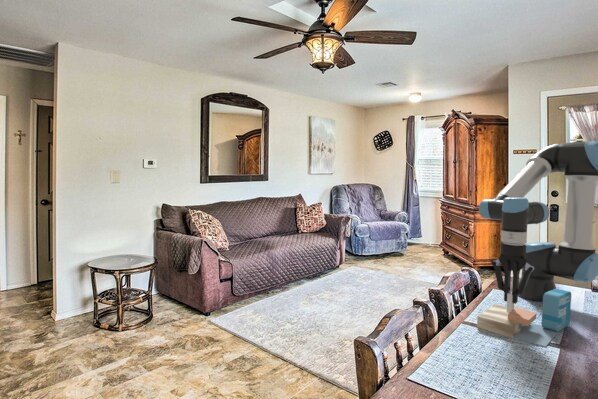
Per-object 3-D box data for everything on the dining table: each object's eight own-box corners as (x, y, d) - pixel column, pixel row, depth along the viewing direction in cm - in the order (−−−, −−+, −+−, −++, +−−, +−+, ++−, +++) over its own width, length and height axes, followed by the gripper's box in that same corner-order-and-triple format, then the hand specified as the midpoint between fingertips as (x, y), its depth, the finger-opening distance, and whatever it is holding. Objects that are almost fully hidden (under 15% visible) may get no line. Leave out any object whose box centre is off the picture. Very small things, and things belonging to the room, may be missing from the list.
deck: (494, 314, 139) (495, 303, 139) (528, 323, 131) (528, 311, 131) (477, 327, 127) (477, 316, 127) (512, 337, 119) (513, 325, 119)
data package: (556, 332, 122) (558, 296, 122) (540, 328, 126) (543, 293, 125) (569, 325, 129) (571, 290, 129) (554, 320, 133) (556, 287, 132)
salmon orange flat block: (516, 312, 130) (517, 306, 130) (535, 318, 126) (536, 312, 125) (507, 319, 124) (508, 313, 123) (527, 326, 119) (528, 320, 119)
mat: (528, 323, 131) (528, 322, 131) (558, 330, 125) (559, 330, 125) (512, 337, 119) (512, 336, 119) (545, 347, 113) (545, 346, 113)
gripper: (488, 242, 128) (486, 309, 129) (532, 247, 118) (528, 320, 120) (496, 239, 133) (493, 304, 135) (538, 244, 123) (535, 314, 125)
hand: (510, 311), depth 127 cm, fingers closed
